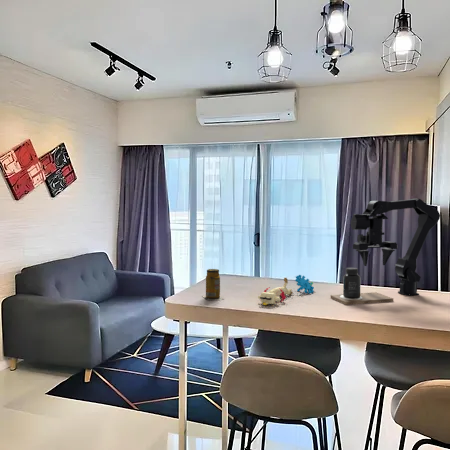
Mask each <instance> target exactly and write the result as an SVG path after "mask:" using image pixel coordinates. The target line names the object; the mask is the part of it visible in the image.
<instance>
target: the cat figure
mask: <svg viewBox="0 0 450 450" xmlns="http://www.w3.org/2000/svg"><path fill="white" fill-rule="evenodd" d="M283 281H284V283H283V286H281V287H280V286H278V287H274V288H272V289H271V290H269V289H270V288H271V287H270V286H269V287H267V288H266V289H264V291H263V292H261V293H260V295H258V296H257V299H259V300H260V302H261V304H262V305H264V306H267V305H276V304H277V302H278V303H279V302H280V303H282V302H283V301H285V300H286V298H287V297H286V295H288V296H292V295H293V294H294V293H293V291H292V288H288V287H287V286H288V283H289V282H288V277H283ZM268 290H269V291H268ZM279 296H280V297H279Z"/></svg>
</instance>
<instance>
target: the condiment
mask: <svg viewBox="0 0 450 450" xmlns="http://www.w3.org/2000/svg"><path fill="white" fill-rule="evenodd" d="M220 276H221V275H220V270H219V269H217V268H208V269H206V276H205V295H202V297H203V299H205V300H207V301H220V300H221V301H222V300H225V298H224V297H222V296H221V277H220Z"/></svg>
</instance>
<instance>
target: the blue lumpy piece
mask: <svg viewBox="0 0 450 450" xmlns="http://www.w3.org/2000/svg"><path fill="white" fill-rule="evenodd" d="M305 278H306V276H305V275H302V274H298V275H296V276H295V280H294V281H295V282H296V285H297V287H298V288H297V292H300V291H303V290H304V291H303V292H304V293H306V294H307V293H308V294H309V295H310V294H312V293H314V289H315V288H314V286H313V284H314V282H313V281H311V282H310V279H309V278H306V279H305Z"/></svg>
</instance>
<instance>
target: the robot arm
mask: <svg viewBox="0 0 450 450" xmlns="http://www.w3.org/2000/svg"><path fill="white" fill-rule="evenodd" d="M407 209H412V210H414V212H415V214H416V215H417V216H418V219H417V228H416V231H415V233H414V235H413V237H412V240H411V242H410V244H409V246H408V248H407V251H406V253H405V255H404V256H403V257H398V258H397V261H396V263H395V264H394V266H395V267H394V271H395V274H397V277H398V279H400V283H399V290H398V291H397V293H399V294H401V295H403V296H407V297H408V296H418V295H420V293H418V282H419V283H420V280H421V277H422V276H420V275H419V274H418V273H417V265H418V263H417V259H418V257H419V255H420V252H421V251H422V248H423V245H424V244H425V241H426V239H427V236H428V235H429V232H430V231H431V230H432V229H433V228H434V227H435V226H436V225H437V224H438V221H439V220H440V218H441V214H440V212H439V210H437V209H435V208H434V207H432V206H431V205H429V204H428V203H426V202H424V200H422V199H421V198H412V199H401V200H393V201H392V200H391V201H386V200H371V201H369V202H368V203H367V207H366V209H365V210H364V211H363V212H362V213H361V214H360V213H359V214H358V213H353V215H352V218H351V219H350V227H351V230H353V231H359V230H360V231H365V230H368V231H366V234H365V235H364V234H357V241H356V242H354V243H353V244H352V249H353V250H355V252H358V254H359V255H360V257H361V260H362V263H363V265H364V266H365V267H367V265H368V258H369V250H368V249H380V248H381V251H382V265H383V266H386V265H387V262H388V260H389V258H390V257H391V255H392V253H393V252H395V251H396V250H398V243H397V242H396V241H395V242H394V241H389V240H388V241H383V236H384V235H385V232H383V229H384V228H383V227H384V220H388V219H389V217H388V216H387V215H385V213H389V212H390V211H397V210H407Z"/></svg>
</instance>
